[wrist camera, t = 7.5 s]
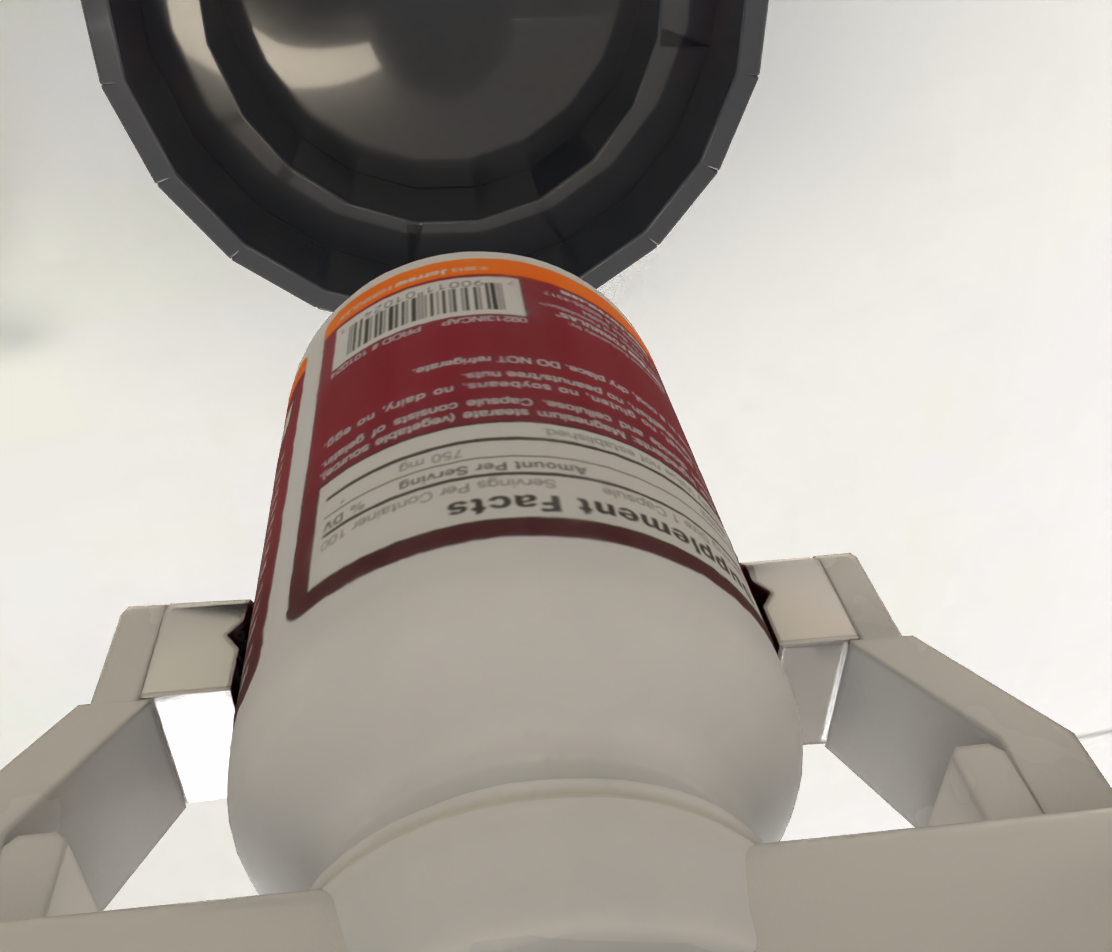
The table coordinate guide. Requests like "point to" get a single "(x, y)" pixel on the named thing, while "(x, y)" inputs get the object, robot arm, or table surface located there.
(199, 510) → the table surface
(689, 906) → the pill bottle
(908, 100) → the table surface
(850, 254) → the table surface
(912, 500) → the table surface
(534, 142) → the bowl
